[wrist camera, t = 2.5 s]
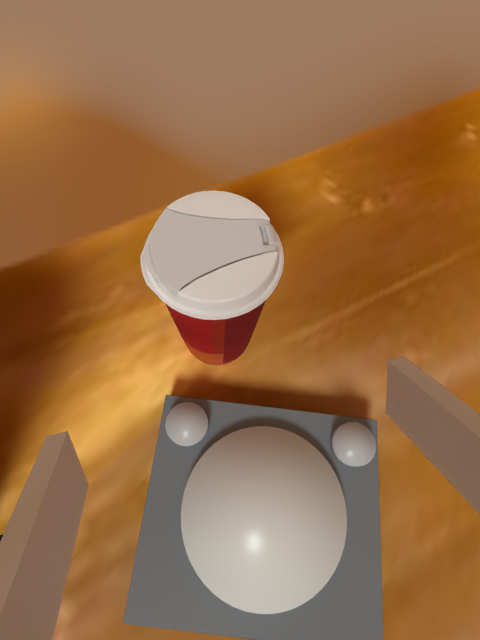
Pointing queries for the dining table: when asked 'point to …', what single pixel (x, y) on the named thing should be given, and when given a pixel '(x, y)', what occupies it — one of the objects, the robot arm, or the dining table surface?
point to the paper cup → (213, 270)
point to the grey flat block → (260, 525)
